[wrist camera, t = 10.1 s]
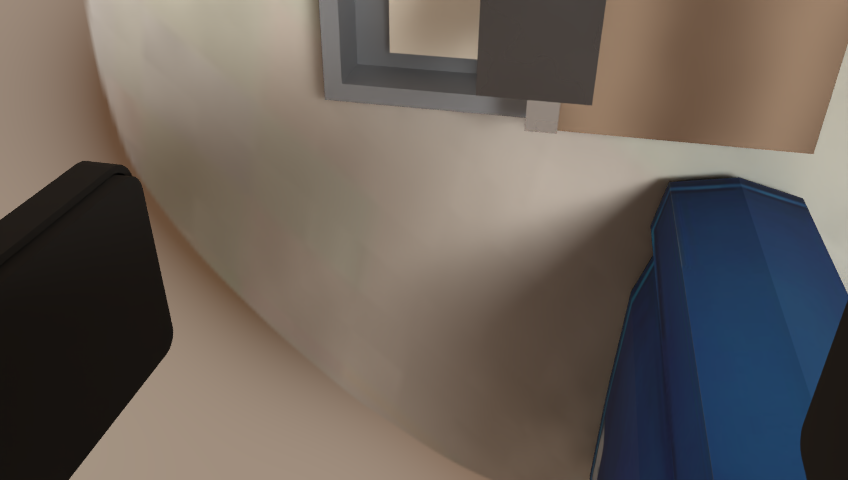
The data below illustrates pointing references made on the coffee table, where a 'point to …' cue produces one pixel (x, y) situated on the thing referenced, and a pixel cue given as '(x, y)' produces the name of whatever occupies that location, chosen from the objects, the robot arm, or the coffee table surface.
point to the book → (721, 339)
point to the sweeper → (539, 54)
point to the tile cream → (435, 27)
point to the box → (395, 66)
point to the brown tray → (715, 72)
